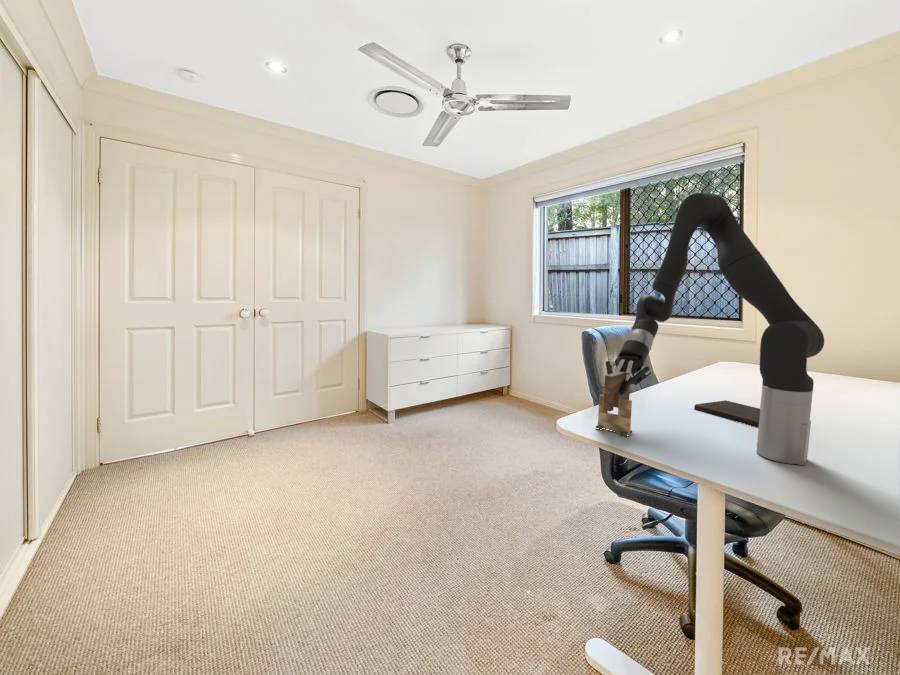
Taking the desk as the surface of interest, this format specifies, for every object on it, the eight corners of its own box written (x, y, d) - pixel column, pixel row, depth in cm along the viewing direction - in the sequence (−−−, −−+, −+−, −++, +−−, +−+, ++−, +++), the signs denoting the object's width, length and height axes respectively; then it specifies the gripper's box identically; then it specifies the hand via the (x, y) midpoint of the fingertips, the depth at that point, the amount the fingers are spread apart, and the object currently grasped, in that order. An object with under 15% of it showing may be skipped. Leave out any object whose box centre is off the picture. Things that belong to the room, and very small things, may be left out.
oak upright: (632, 433, 111) (634, 399, 110) (625, 437, 109) (627, 402, 108) (602, 426, 118) (603, 393, 117) (595, 429, 115) (596, 395, 114)
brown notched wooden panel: (628, 403, 118) (630, 370, 117) (610, 411, 110) (611, 376, 109) (622, 402, 120) (624, 369, 118) (603, 409, 112) (605, 375, 110)
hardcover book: (725, 406, 141) (725, 400, 141) (801, 426, 120) (801, 418, 120) (693, 410, 136) (694, 404, 135) (767, 432, 114) (768, 424, 114)
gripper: (611, 337, 124) (590, 380, 117) (657, 341, 113) (637, 389, 107) (618, 352, 128) (597, 395, 121) (663, 357, 118) (644, 404, 111)
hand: (616, 392), depth 114 cm, fingers closed on brown notched wooden panel, 2 cm apart
